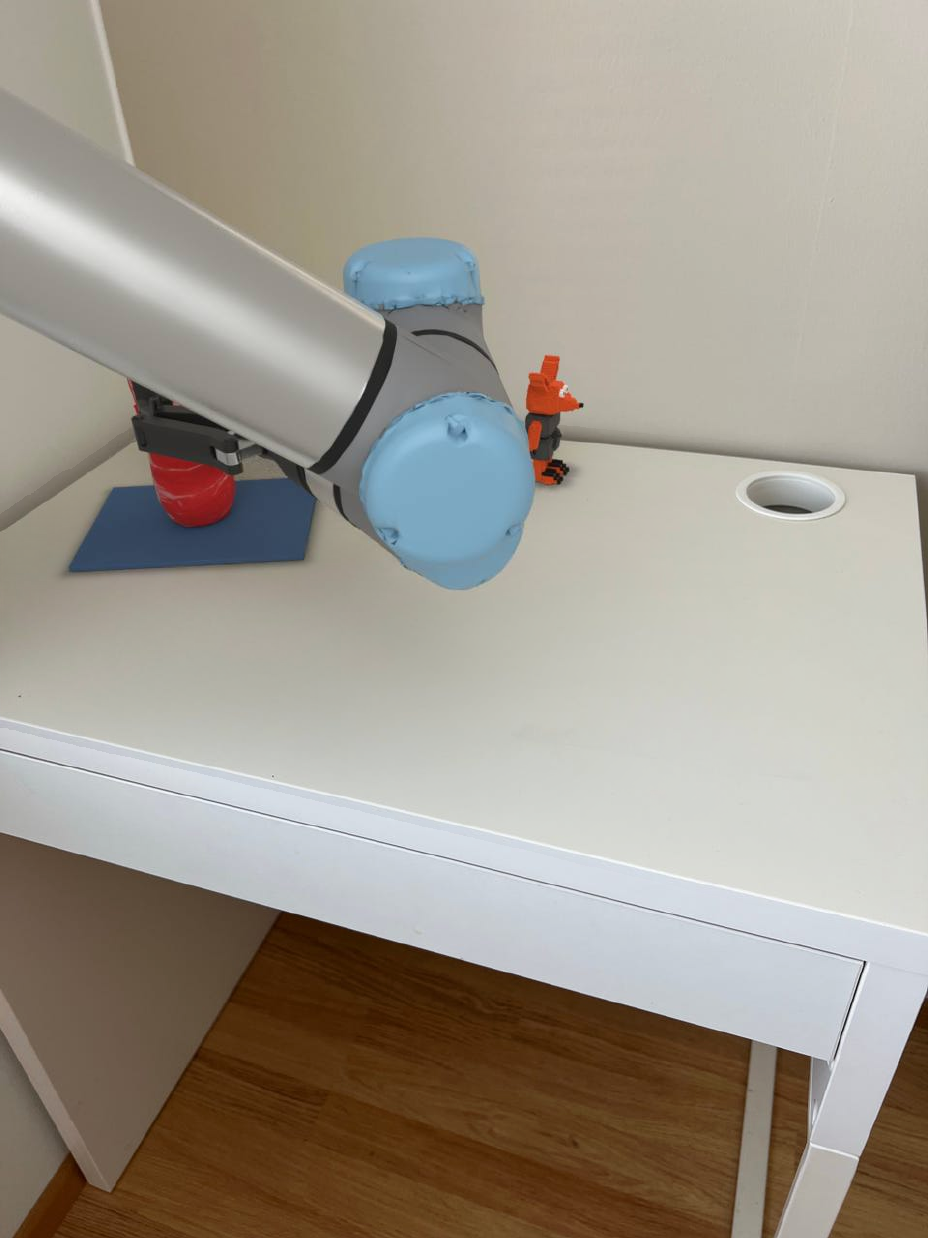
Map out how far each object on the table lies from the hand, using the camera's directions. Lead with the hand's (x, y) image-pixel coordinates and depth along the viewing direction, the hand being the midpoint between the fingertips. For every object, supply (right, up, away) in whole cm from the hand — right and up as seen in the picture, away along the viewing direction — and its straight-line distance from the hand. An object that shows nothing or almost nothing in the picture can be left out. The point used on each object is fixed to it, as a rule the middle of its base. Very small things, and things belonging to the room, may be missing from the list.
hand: (216, 369), depth 83 cm
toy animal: (+30, -6, +22) cm, 38 cm away
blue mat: (-6, -11, +17) cm, 21 cm away
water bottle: (-4, -10, +17) cm, 21 cm away
